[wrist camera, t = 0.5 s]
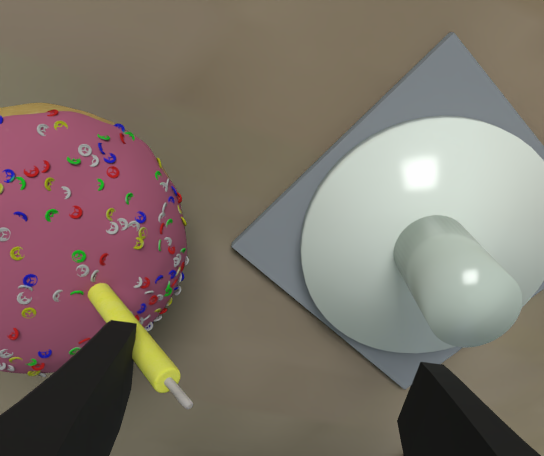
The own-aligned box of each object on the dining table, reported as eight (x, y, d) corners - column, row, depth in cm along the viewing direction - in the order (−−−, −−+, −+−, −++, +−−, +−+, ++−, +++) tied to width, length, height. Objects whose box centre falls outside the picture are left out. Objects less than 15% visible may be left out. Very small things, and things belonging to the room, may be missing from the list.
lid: (599, 237, 21) (698, 303, 16) (406, 378, 24) (442, 468, 19) (450, 53, 18) (522, 69, 13) (247, 246, 21) (245, 316, 16)
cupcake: (183, 204, 22) (361, 305, 12) (47, 351, 20) (125, 604, 10) (25, 49, 17) (107, 6, 7) (-168, 225, 15) (-397, 473, 6)
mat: (608, 233, 21) (615, 236, 21) (402, 383, 25) (404, 389, 24) (449, 32, 18) (454, 32, 17) (231, 242, 21) (231, 246, 21)
